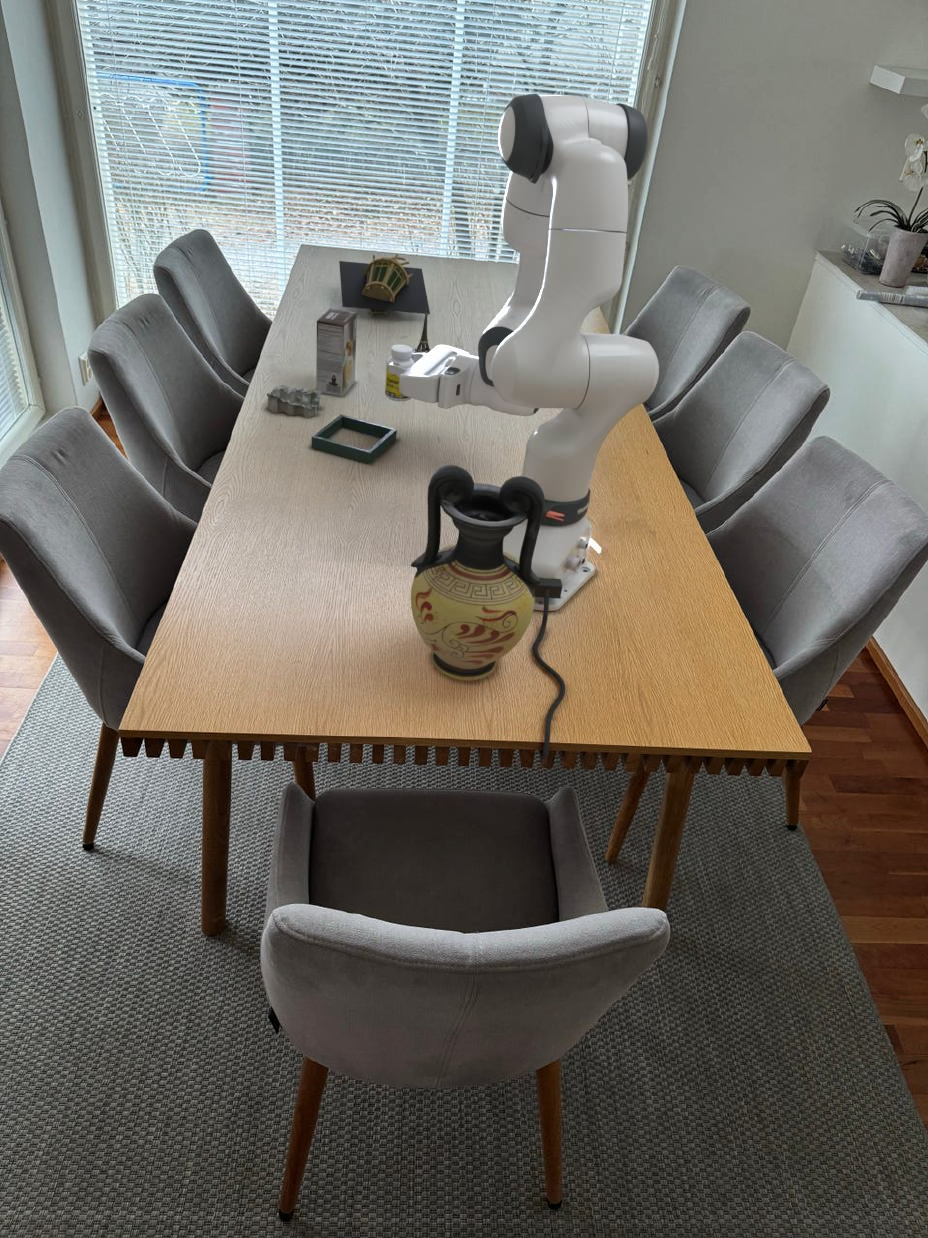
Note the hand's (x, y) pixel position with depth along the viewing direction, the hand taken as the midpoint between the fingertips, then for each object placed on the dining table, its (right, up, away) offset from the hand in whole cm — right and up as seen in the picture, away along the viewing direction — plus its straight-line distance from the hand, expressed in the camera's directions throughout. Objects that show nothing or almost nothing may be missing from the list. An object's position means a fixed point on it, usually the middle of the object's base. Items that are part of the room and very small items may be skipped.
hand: (396, 362), depth 180 cm
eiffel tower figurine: (+3, +12, +46) cm, 48 cm away
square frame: (-9, -14, +7) cm, 18 cm away
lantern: (-10, +38, +78) cm, 88 cm away
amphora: (+13, -55, -44) cm, 72 cm away
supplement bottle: (0, -6, +4) cm, 7 cm away
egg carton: (-23, -5, +18) cm, 29 cm away
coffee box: (-16, +2, +29) cm, 33 cm away
